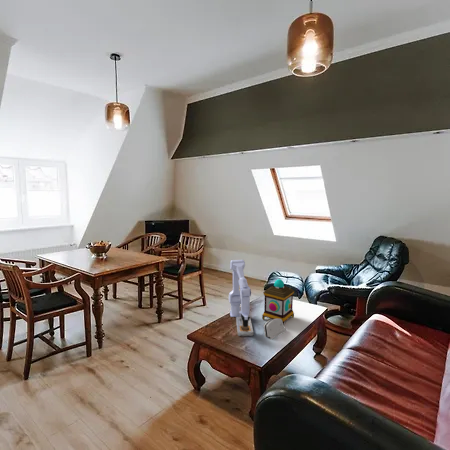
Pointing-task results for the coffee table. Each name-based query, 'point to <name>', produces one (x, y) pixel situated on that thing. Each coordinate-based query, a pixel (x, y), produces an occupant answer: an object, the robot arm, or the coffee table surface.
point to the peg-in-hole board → (244, 332)
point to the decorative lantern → (278, 302)
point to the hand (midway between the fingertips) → (245, 324)
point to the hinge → (274, 328)
